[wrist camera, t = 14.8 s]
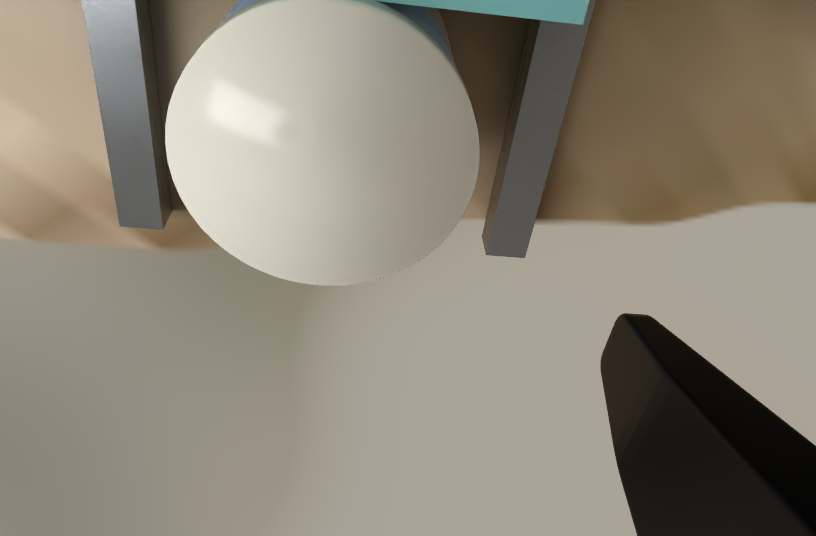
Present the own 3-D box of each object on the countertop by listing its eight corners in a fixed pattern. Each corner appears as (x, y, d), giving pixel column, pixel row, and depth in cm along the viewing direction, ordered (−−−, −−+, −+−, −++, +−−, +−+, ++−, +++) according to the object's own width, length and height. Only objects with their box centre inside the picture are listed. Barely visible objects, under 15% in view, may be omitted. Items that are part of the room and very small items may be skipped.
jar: (414, 187, 19) (425, 309, 14) (209, 135, 18) (154, 251, 13) (487, -19, 16) (528, 59, 11) (240, -99, 14) (180, -46, 10)
